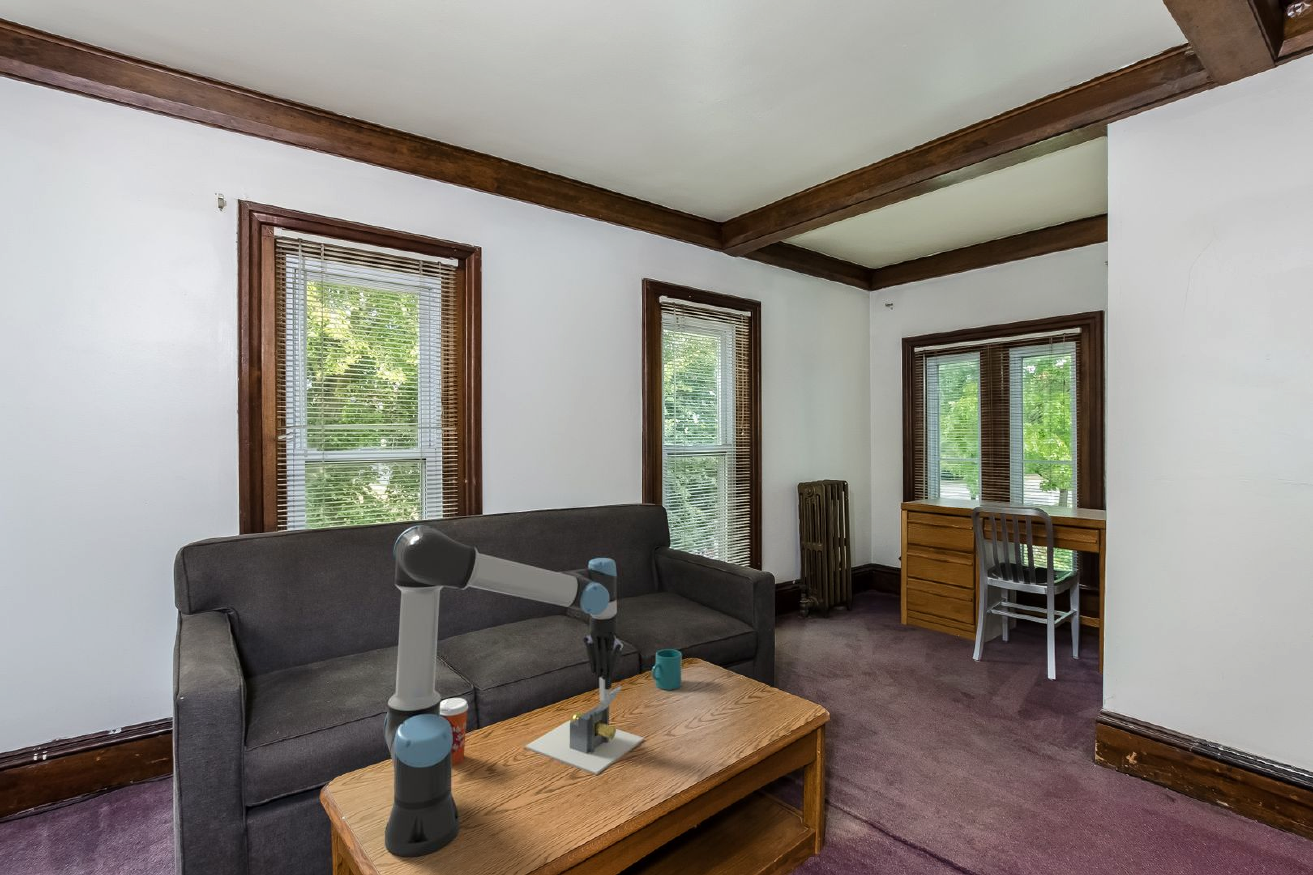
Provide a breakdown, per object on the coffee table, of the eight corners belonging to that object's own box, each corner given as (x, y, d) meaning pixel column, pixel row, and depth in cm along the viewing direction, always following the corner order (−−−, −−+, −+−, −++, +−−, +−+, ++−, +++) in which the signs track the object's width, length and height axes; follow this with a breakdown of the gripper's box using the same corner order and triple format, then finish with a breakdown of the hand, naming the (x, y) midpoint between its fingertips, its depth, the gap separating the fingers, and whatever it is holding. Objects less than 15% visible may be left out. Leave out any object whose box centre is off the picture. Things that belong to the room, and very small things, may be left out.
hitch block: (569, 747, 169) (569, 710, 169) (592, 733, 177) (592, 697, 177) (589, 754, 165) (589, 716, 165) (611, 739, 174) (611, 703, 174)
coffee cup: (458, 769, 159) (458, 711, 159) (429, 765, 160) (429, 708, 160) (474, 753, 167) (474, 698, 167) (446, 749, 169) (447, 695, 169)
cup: (643, 686, 213) (644, 654, 213) (669, 678, 221) (669, 647, 221) (660, 695, 206) (660, 661, 206) (686, 686, 214) (686, 654, 214)
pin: (569, 733, 172) (570, 715, 172) (581, 726, 176) (581, 708, 177) (606, 746, 165) (606, 727, 165) (618, 738, 170) (618, 719, 170)
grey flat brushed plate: (594, 712, 168) (609, 691, 165) (605, 705, 172) (620, 685, 169) (595, 714, 167) (611, 694, 165) (606, 708, 172) (621, 687, 169)
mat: (596, 774, 156) (596, 772, 156) (525, 748, 170) (525, 745, 170) (643, 739, 175) (643, 737, 175) (576, 718, 188) (576, 716, 188)
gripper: (630, 614, 169) (631, 699, 169) (593, 608, 176) (594, 689, 176) (614, 622, 163) (615, 710, 163) (576, 615, 170) (577, 699, 170)
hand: (604, 699), depth 170 cm, fingers closed
